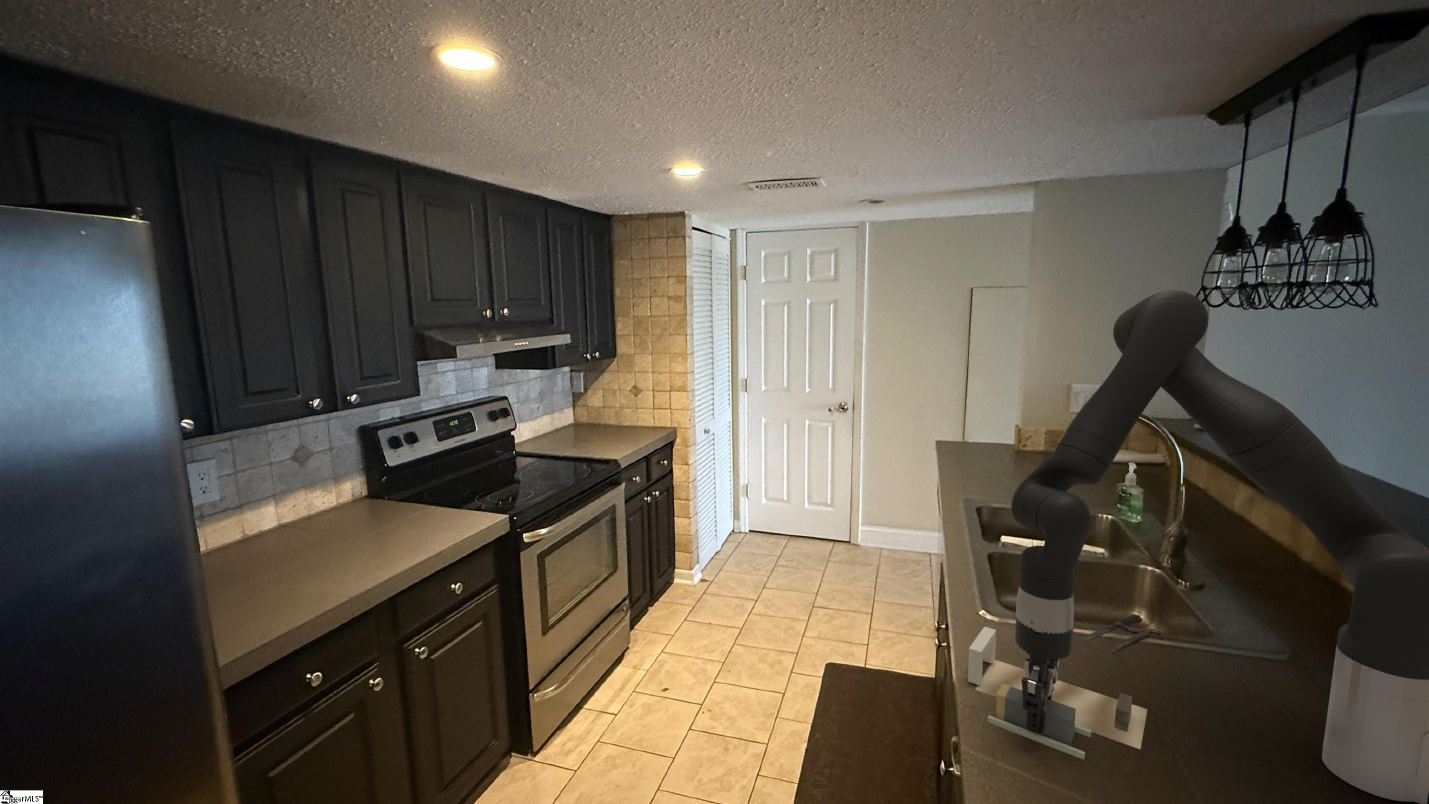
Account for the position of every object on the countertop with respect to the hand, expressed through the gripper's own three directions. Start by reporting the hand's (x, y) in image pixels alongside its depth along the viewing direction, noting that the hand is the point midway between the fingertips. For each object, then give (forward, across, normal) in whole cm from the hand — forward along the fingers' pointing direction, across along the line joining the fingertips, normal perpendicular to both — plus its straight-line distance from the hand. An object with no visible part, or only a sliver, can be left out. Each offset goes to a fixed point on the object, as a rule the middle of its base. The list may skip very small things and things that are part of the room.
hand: (1038, 721), depth 92 cm
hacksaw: (+2, -36, +7) cm, 37 cm away
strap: (+2, -10, -11) cm, 15 cm away
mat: (+2, 0, 0) cm, 2 cm away
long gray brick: (+1, 0, 0) cm, 1 cm away
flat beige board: (+2, -10, +1) cm, 10 cm away
